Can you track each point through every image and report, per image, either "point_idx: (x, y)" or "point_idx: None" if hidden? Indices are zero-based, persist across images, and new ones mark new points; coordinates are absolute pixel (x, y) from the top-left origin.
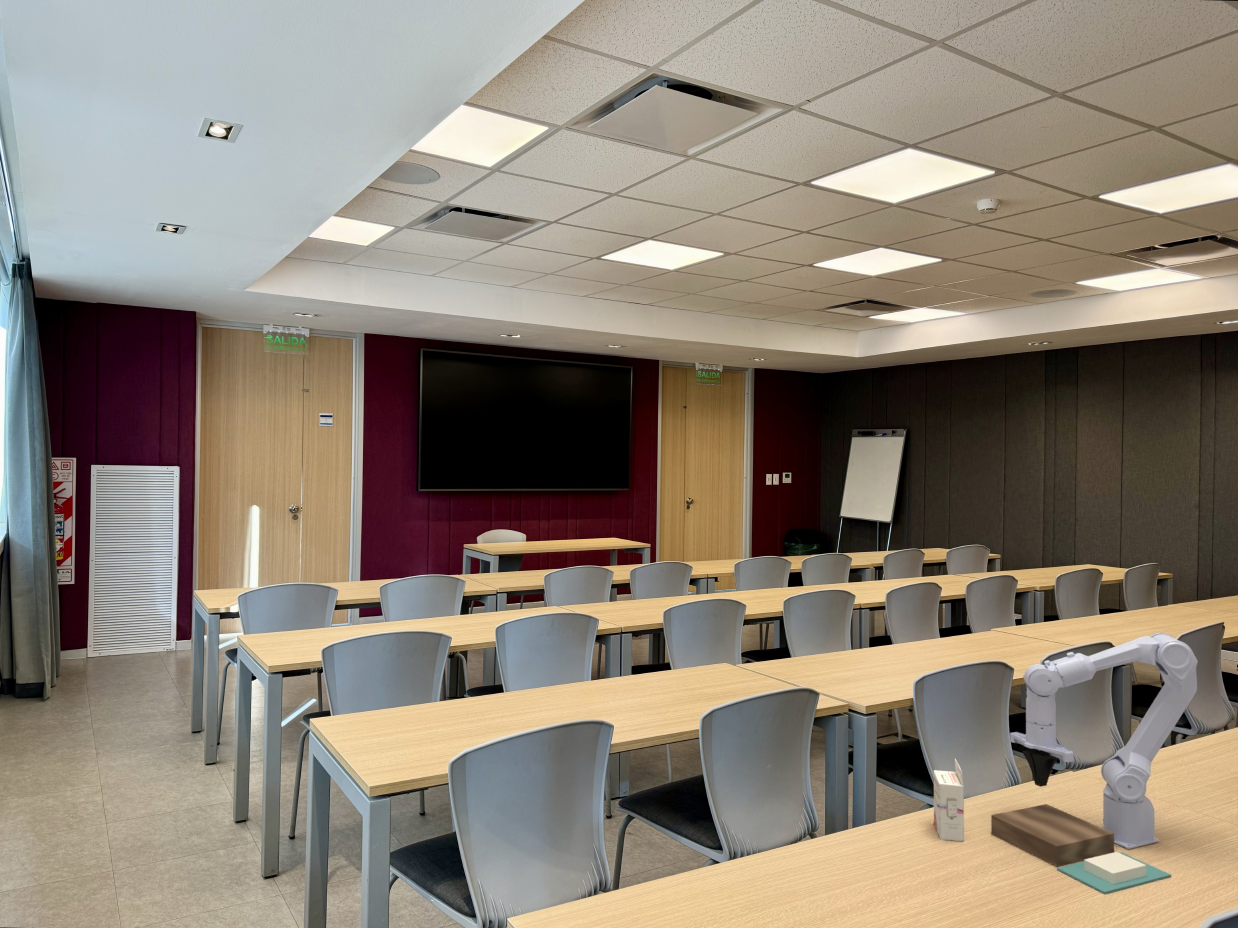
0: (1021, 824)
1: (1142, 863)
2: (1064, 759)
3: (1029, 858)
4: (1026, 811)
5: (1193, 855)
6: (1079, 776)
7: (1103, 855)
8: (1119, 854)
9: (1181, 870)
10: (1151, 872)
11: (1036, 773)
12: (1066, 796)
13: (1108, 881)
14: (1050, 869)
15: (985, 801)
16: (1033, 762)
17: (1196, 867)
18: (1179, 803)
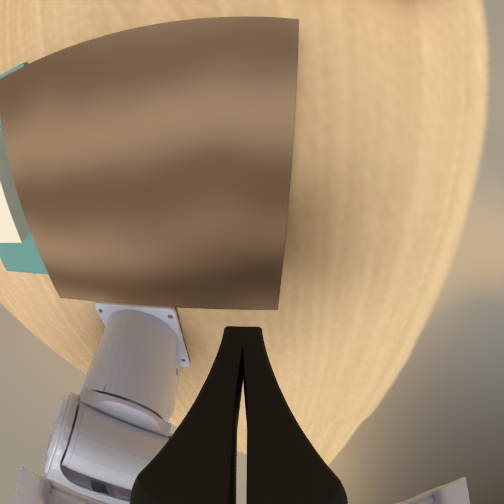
0: (152, 65)
1: (35, 267)
2: (29, 481)
3: (90, 24)
4: (260, 201)
5: (81, 351)
6: (362, 413)
7: (4, 198)
8: (12, 236)
9: (30, 299)
10: (7, 249)
11: (233, 383)
12: (338, 377)
13: None
14: (33, 46)
15: (444, 236)
16: (248, 448)
17: (44, 323)
18: (237, 431)
